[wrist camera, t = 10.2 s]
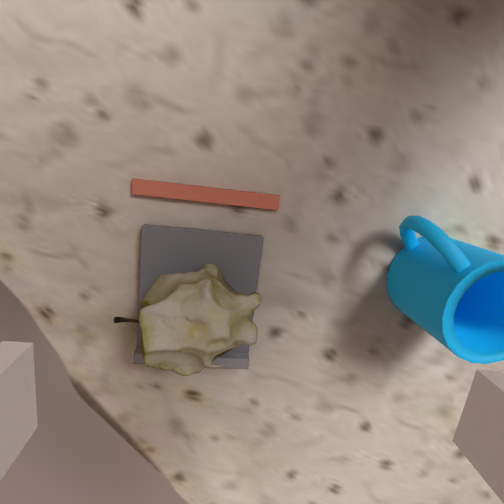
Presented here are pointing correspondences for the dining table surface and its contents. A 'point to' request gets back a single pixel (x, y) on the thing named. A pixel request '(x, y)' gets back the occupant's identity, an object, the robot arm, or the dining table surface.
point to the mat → (200, 267)
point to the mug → (450, 290)
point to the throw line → (204, 194)
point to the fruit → (193, 320)
